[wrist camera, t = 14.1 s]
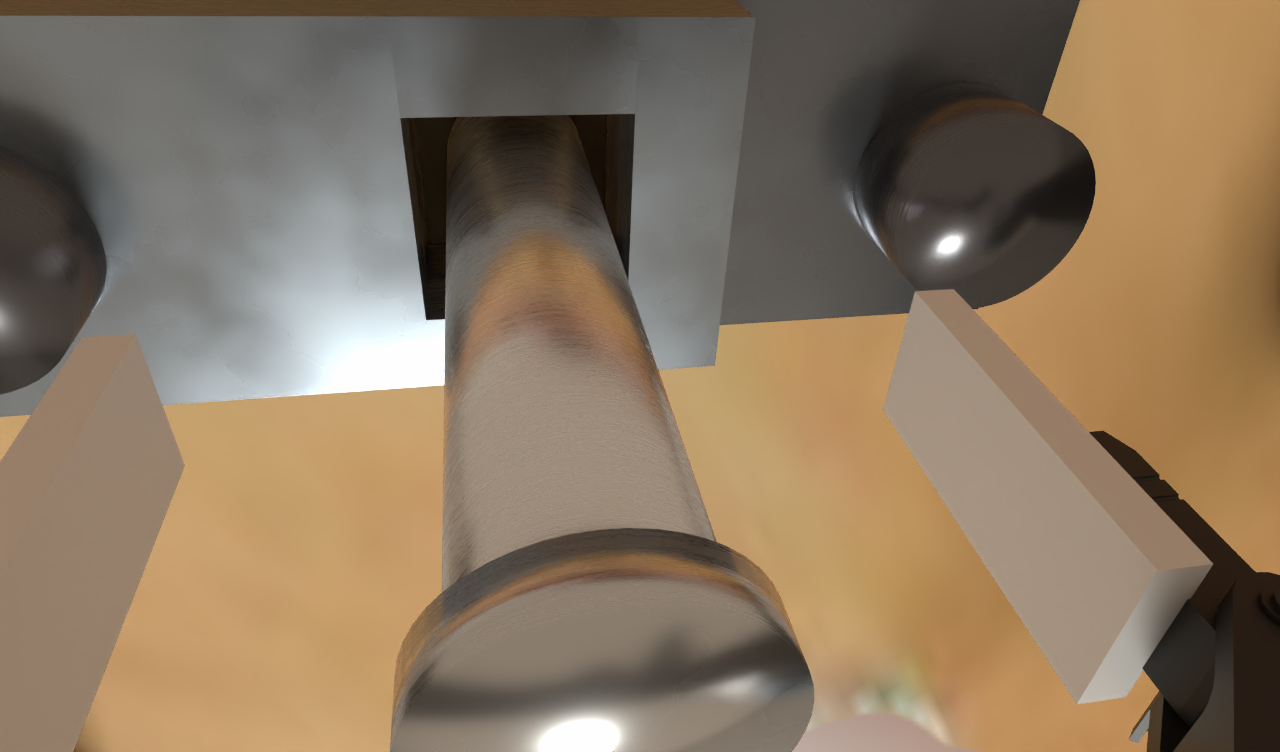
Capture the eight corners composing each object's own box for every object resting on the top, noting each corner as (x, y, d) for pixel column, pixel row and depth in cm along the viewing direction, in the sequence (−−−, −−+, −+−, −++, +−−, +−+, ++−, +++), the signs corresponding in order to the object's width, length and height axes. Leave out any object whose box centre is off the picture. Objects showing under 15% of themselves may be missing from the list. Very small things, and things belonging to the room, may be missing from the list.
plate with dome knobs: (1035, -19, 22) (1194, 41, 17) (947, 277, 28) (1051, 384, 23) (-169, -32, 17) (-400, 47, 13) (5, 329, 23) (-113, 479, 18)
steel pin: (601, 67, 22) (850, 580, 8) (598, 229, 24) (782, 816, 11) (417, 69, 21) (356, 639, 7) (436, 236, 23) (416, 878, 10)
